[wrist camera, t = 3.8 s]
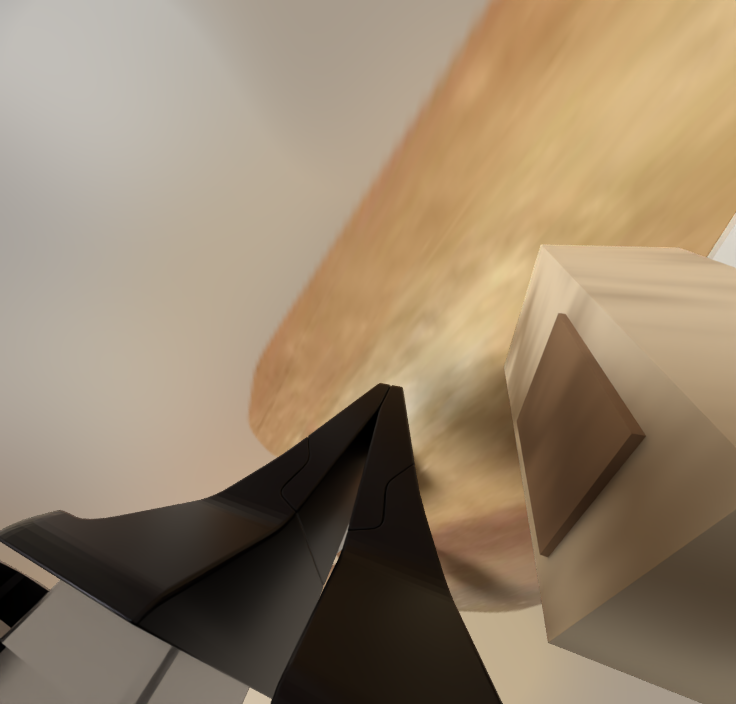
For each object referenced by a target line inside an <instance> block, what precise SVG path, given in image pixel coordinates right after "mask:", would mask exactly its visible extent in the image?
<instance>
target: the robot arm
mask: <svg viewBox="0 0 736 704" xmlns="http://www.w3.org/2000/svg"><path fill="white" fill-rule="evenodd" d="M349 522H350V523H349ZM348 525H349V527H348ZM347 527H348V532H347V534H346V538H345V541H344V545H343V548H342V551H341V554H340V556H339V558H338V561H337V563H336V565H335V567H334V569H333V571H332V573H331V575H330V577H329V579H328V581H327V583H326V585H325V587H324V589H323V585H324V584H325V582H326V579H327V577H328V574H329V572H330V569H331V567H332V564H333V562H334V559H335V557H336V554H337V552H338V549H339V547H340V545H341V542H342V540H343V537H344V535H345V532H346V530H347ZM0 542H2V543H3V544H5V545H6V546H8V547H10V548H11V549H13V550H14V551H16V552H18V553H19V554H21V555H22V556H24V557H25V558H27V559H29V560H30V561H32V562H33V563H35V564H37V565H38V566H40V567H41V568H43V569H45V570H46V571H48V572H49V573H51V574H52V575H54V576H56V577H57V578H59V579H60V581H59V582H58V583H57V584H56V585H55V586H54V587H53V588H52V589H51V590H50V589H48V588H47V587H45V586H44V585H42V584H41V583H39V582H38V581H36V580H34V579H33V578H31V577H29V576H27V575H26V574H24V573H22V572H20V571H19V570H17V569H15V568H13V567H12V566H10V565H8V564H6V563H4V562H2V561H0V704H242V703H243V701H244V699H245V696H246V694H247V692H248V690H249V687H250V688H252V689H254V690H256V691H258V692H260V693H262V694H264V695H266V696H267V697H269V698H271V699H272V701H271V704H503V703H502V701H501V699H500V698H499V695H498V693H497V691H496V689H495V687H494V685H493V683H492V680H491V678H490V676H489V674H488V672H487V670H486V668H485V666H484V664H483V662H482V659H481V658H480V655H479V653H478V651H477V649H476V647H475V645H474V643H473V641H472V639H471V636H470V634H469V632H468V630H467V628H466V626H465V624H464V622H463V620H462V618H461V616H460V613H459V611H458V609H457V607H456V605H455V603H454V601H453V598H452V596H451V593H450V591H449V588H448V585H447V583H446V580H445V577H444V574H443V571H442V568H441V564H440V561H439V558H438V555H437V551H436V548H435V545H434V541H433V538H432V535H431V531H430V528H429V525H428V521H427V518H426V515H425V511H424V507H423V503H422V499H421V496H420V491H419V486H418V481H417V475H416V468H415V462H414V456H413V450H412V443H411V437H410V430H409V424H408V417H407V411H406V404H405V398H404V392H403V388H402V387H400V386H394V385H392V386H390V385H389V384H383V383H379V384H377V385H376V386H375V387H373V388H372V389H371V390H369V391H368V392H367V393H365V394H364V395H363V396H361V397H360V398H359V399H357V400H356V401H355V402H353V403H352V404H351V405H349V406H348V407H347V408H345V409H344V410H342V411H341V412H340V413H338V414H337V415H336V416H334V417H333V418H332V419H330V420H329V421H328V422H326V423H325V424H324V425H322V426H321V427H320V428H318V429H317V430H316V431H314V432H313V433H312V434H310V435H309V436H308V437H306V438H305V439H303V440H302V441H301V442H299V443H298V444H296V445H295V446H294V447H292V448H291V449H289V450H288V451H287V452H285V453H284V454H282V455H281V456H279V457H277V458H276V459H274V460H273V461H271V462H270V463H268V464H266V465H265V466H263V467H262V468H260V469H258V470H257V471H255V472H253V473H252V474H250V475H248V476H247V477H245V478H243V479H242V480H240V481H239V482H237V483H235V484H234V485H232V486H230V487H229V488H227V489H225V490H223V491H222V492H219V493H217V494H215V495H213V496H210V497H208V498H204V499H201V500H197V501H192V502H187V503H182V504H177V505H172V506H166V507H162V508H157V509H151V510H146V511H141V512H135V513H131V514H125V515H120V516H115V517H108V518H100V519H82V518H78V517H75V516H74V515H71V514H70V513H67V512H65V511H62V510H57V511H53V512H50V513H46V514H42V515H38V516H34V517H31V518H28V519H25V520H22V521H20V522H17V523H15V524H12V525H10V526H8V527H6V528H4V529H2V530H0ZM322 589H323V591H322ZM321 592H322V594H321ZM320 594H321V596H320ZM319 597H320V598H319ZM318 599H319V600H318Z"/></svg>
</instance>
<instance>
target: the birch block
mask: <svg viewBox="0 0 736 704" xmlns="http://www.w3.org/2000/svg"><path fill="white" fill-rule="evenodd" d="M504 370H505V376H506V382H507V388H508V395H509V401H510V407H511V413H512V420H513V426H514V432H515V439H516V445H517V451H518V457H519V464H520V470H521V476H522V482H523V489H524V495H525V501H526V508H527V514H528V520H529V526H530V533H531V539H532V545H533V551H534V558H535V564H536V570H537V576H538V583H539V589H540V595H541V602H542V608H543V614H544V620H545V627H546V633H547V639H548V643H550V644H553V645H555V646H558V647H560V648H563V649H566V650H568V651H571V652H573V653H576V654H578V655H581V656H583V657H586V658H588V659H591V660H594V661H596V662H599V663H601V664H603V665H606V666H608V667H611V668H614V669H616V670H619V671H621V672H624V673H626V674H629V675H631V676H634V677H637V678H639V679H642V680H644V681H646V682H649V683H652V684H654V685H657V686H659V687H662V688H665V689H667V690H669V691H672V692H675V693H677V694H679V695H682V696H685V697H687V698H690V699H692V700H695V701H697V702H700V703H702V704H736V268H735V267H732V266H729V265H726V264H724V263H721V262H718V261H715V260H712V259H710V258H707V257H704V256H701V255H699V254H696V253H693V252H690V251H687V250H685V249H682V248H671V247H629V246H587V245H546V244H541V246H540V249H539V252H538V256H537V259H536V262H535V266H534V269H533V272H532V275H531V279H530V282H529V285H528V289H527V292H526V295H525V299H524V302H523V305H522V309H521V312H520V315H519V319H518V322H517V325H516V329H515V332H514V335H513V339H512V342H511V345H510V348H509V352H508V355H507V358H506V362H505V365H504Z"/></svg>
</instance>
